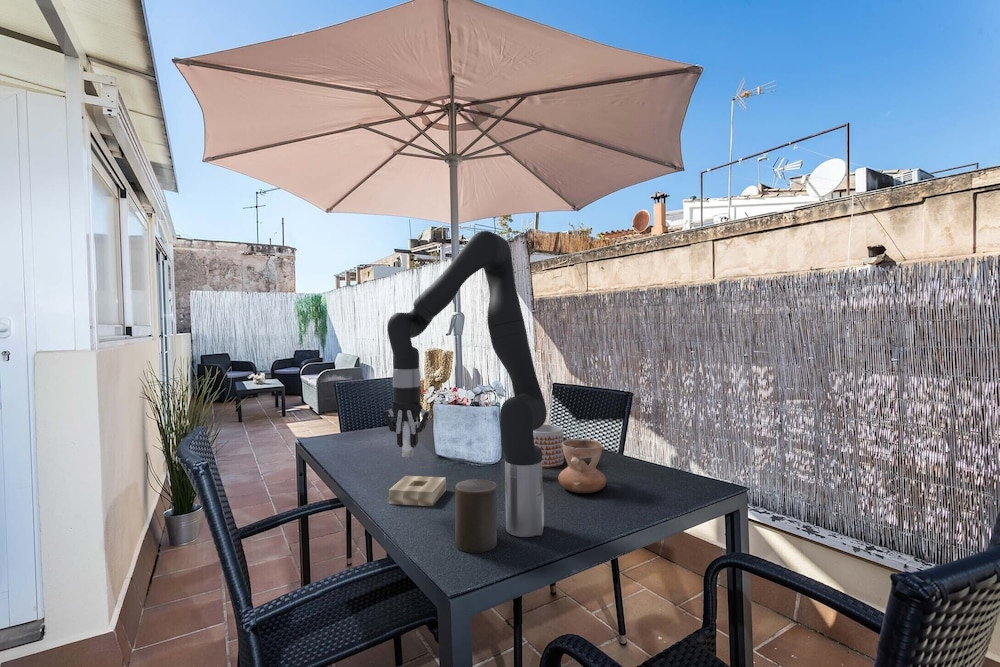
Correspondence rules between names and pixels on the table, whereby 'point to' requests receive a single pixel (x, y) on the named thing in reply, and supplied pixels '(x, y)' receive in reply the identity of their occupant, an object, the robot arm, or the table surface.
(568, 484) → the terracotta incense burner
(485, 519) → the pillar candle
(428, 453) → the table surface
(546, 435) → the planter
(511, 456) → the robot arm
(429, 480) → the oak hole block
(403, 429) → the steel pin
